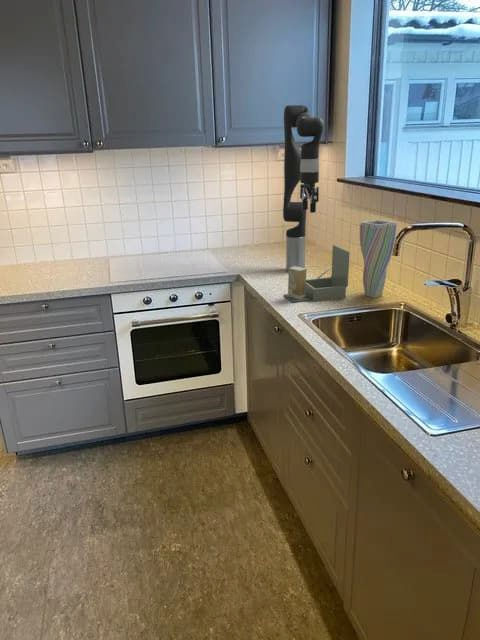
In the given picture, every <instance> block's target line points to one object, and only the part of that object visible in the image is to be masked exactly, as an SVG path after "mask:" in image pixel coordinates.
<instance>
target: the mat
mask: <svg viewBox="0 0 480 640" xmlns="http://www.w3.org/2000/svg"><path fill="white" fill-rule="evenodd" d="M283 297H285V298H286V299H287V300H288V302H290V303H291V304H294V303H295V304H296V303H303V302H311V301H312V300H311V299H310V298H309V297H308V296H306V295H305V297H304V298H302V299H296V298H293V297H289V296H288V293H285V294H283Z"/></svg>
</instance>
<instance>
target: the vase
mask: <svg viewBox="0 0 480 640" xmlns="http://www.w3.org/2000/svg"><path fill="white" fill-rule="evenodd" d="M396 233H397V223H396V222H395V221H388V220H384V219H383V220H381V219H374V220H368V221H362V222H360V223H359V243H360V244H359V245H360V250H361V254H362V259H363V270H362V285H363V291H364V292H363V293H364V296H367V297H370V298H373V299H374V298H377V297H381V296H383V291H384V288H385V285H386V284H385V283H386V278H387V270H388V269H387V268H388V266H389V264H390V261H391V258H392V255H393V252H392V251H394V248H393V246H394V247H395V243H394V241H395V242H396Z"/></svg>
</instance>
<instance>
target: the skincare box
mask: <svg viewBox="0 0 480 640" xmlns="http://www.w3.org/2000/svg"><path fill="white" fill-rule="evenodd" d="M306 280H307V268H306V267H305V268H301V267H296V266H294V267H291V268H289V272H288V283H287V285H288V286H287V294H288V296H289V297H293V298H296V299H302V298H304V297H305V296H306Z"/></svg>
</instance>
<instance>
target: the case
mask: <svg viewBox="0 0 480 640" xmlns="http://www.w3.org/2000/svg"><path fill="white" fill-rule="evenodd" d="M331 255H332V256H331V265H330V266H329V267H327V269H326V270H324V271H323V272H322V273H320V275H319V276H318V277H316V278H311V279H310V278H308V279H306V295H305V296H307V297H308V298H309V299H311V301H313V302H318V301H319V302H320V301H328V300H334V299H345V298H346V297H347V296H346V295H347V287H348V286H349V275H350V274H349V270H350V269H349V268H350V251H349V250H346V249H344V248H343V247H340V246H338V245H335V244H333V245H332V254H331ZM330 269H331V276H329V277H322V276H323V275H325V274H326V273H327V272H328V271H329V270H330ZM321 277H322V278H321Z"/></svg>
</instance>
